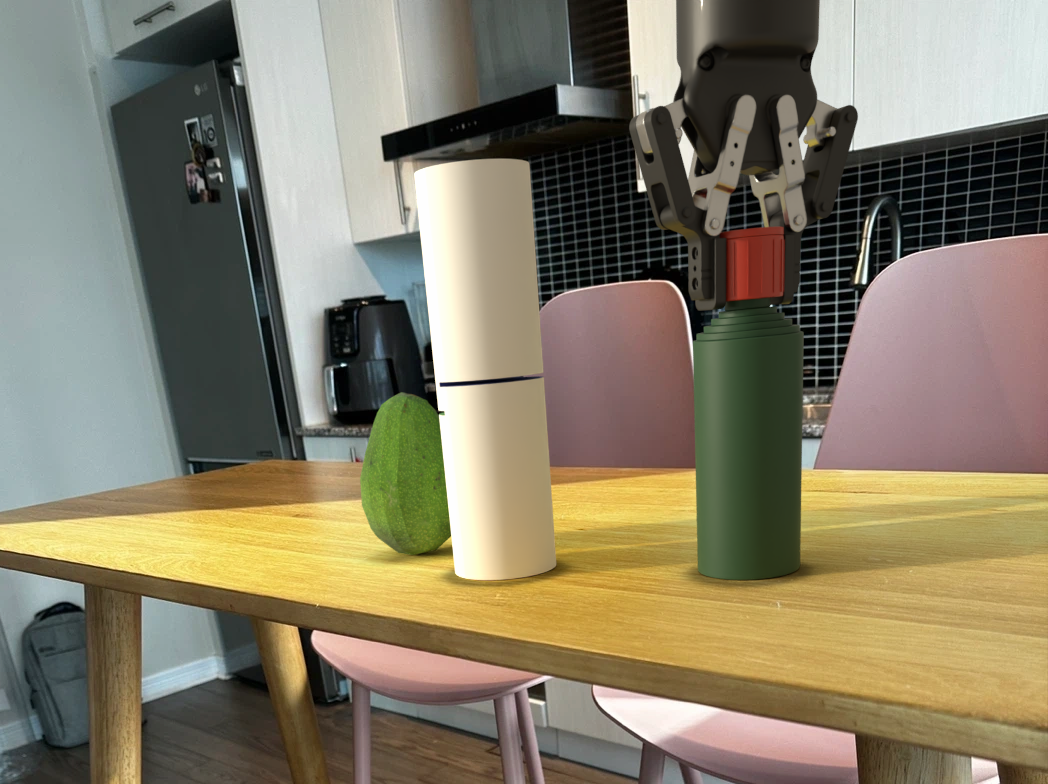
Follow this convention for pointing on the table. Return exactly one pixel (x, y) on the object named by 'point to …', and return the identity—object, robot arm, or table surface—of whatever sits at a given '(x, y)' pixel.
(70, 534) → the table surface
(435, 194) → the cylindrical container
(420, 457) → the avocado
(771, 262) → the cap
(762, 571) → the bottle
